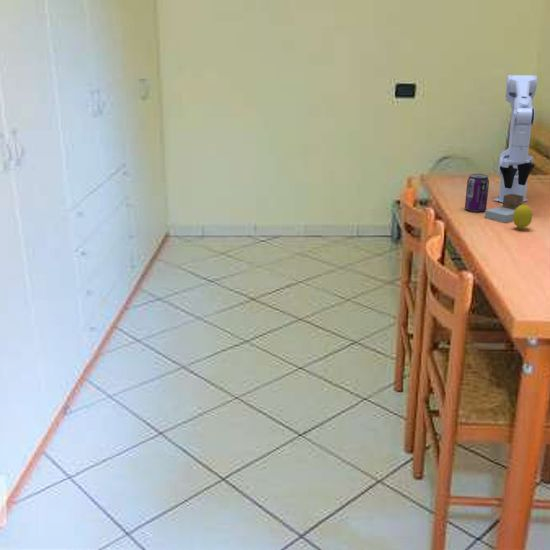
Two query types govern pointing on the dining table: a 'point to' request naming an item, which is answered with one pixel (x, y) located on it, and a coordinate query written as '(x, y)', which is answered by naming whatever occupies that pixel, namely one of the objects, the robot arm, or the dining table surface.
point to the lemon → (522, 216)
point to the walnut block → (512, 201)
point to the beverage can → (477, 192)
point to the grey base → (500, 214)
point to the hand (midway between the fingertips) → (514, 186)
